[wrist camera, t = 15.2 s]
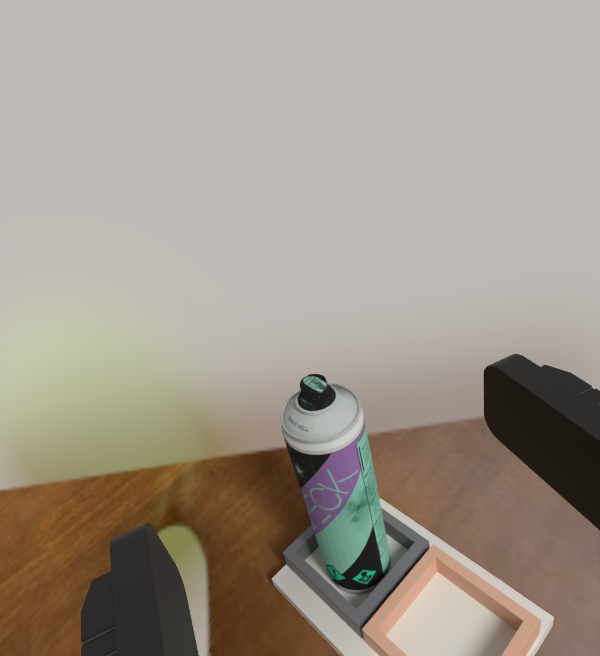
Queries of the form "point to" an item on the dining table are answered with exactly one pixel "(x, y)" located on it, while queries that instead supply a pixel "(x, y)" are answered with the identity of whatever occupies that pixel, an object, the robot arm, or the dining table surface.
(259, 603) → the dining table surface
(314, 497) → the spray can
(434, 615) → the board
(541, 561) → the dining table surface
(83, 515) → the dining table surface
